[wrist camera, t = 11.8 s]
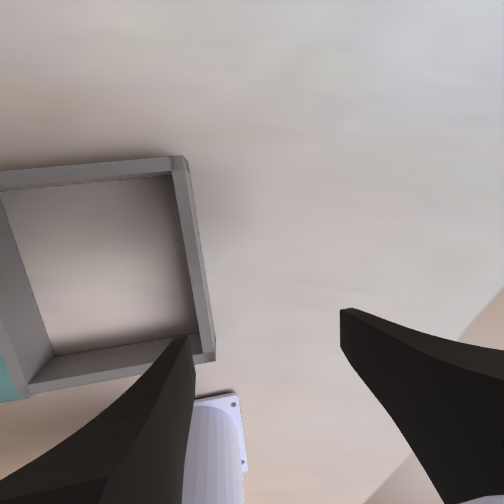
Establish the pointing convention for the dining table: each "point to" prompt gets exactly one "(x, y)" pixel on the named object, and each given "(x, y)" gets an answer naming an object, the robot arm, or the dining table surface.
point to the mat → (7, 385)
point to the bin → (27, 313)
